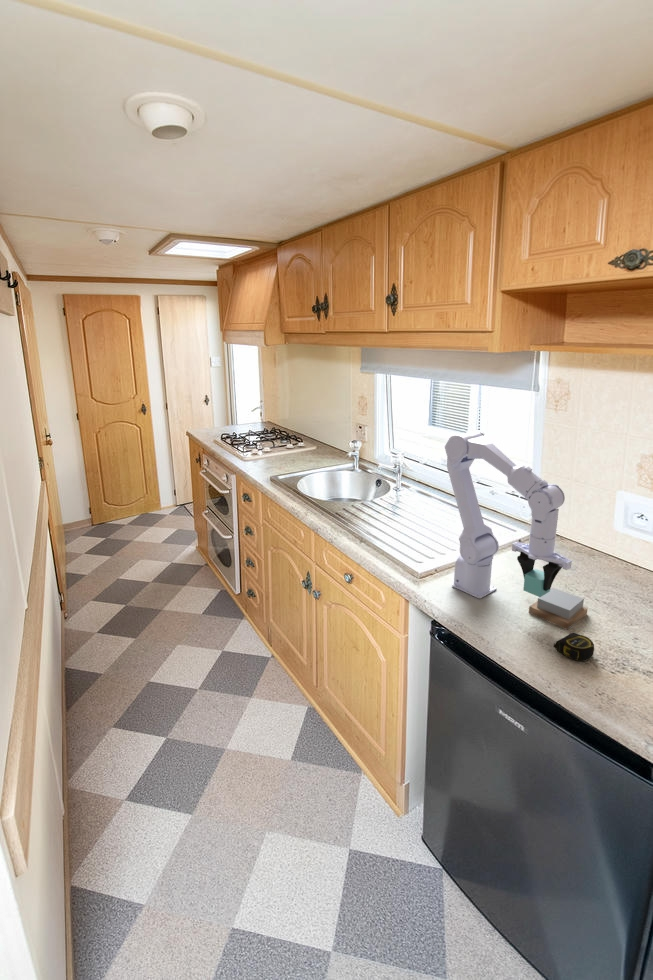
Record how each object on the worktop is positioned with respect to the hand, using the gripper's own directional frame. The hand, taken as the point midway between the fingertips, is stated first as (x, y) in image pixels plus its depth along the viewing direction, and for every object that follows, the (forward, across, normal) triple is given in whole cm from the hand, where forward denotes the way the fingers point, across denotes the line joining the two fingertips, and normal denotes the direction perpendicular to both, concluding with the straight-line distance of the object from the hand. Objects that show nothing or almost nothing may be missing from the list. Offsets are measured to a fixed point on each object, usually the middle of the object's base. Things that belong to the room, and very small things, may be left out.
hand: (537, 585), depth 129 cm
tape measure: (+9, +14, -8) cm, 18 cm away
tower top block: (+7, +4, +6) cm, 9 cm away
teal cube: (+1, 0, 0) cm, 1 cm away
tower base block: (+9, +3, +5) cm, 11 cm away
